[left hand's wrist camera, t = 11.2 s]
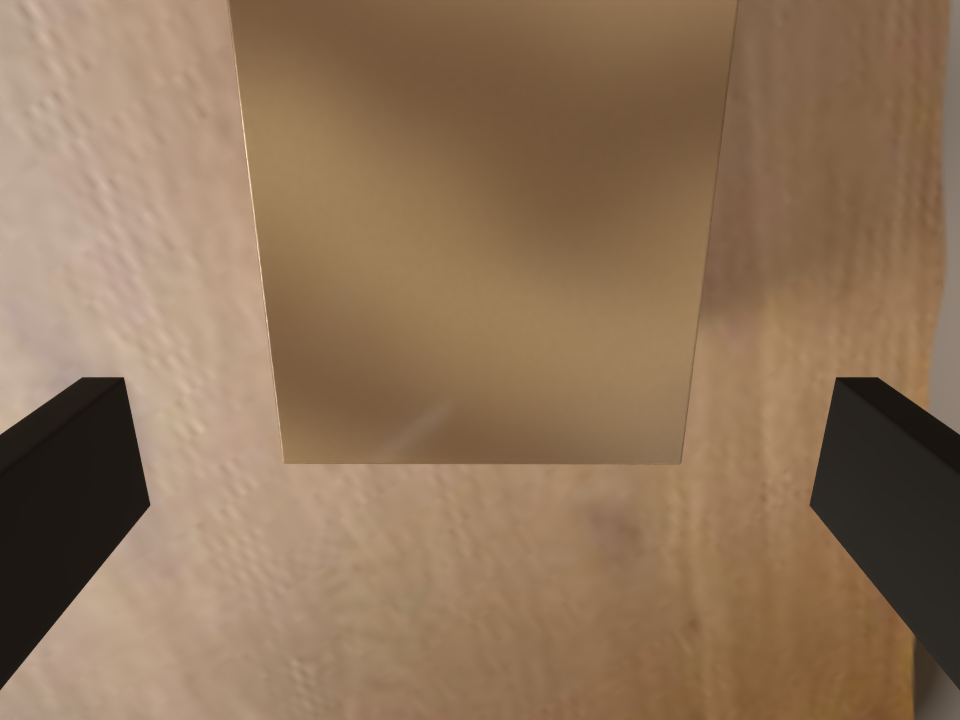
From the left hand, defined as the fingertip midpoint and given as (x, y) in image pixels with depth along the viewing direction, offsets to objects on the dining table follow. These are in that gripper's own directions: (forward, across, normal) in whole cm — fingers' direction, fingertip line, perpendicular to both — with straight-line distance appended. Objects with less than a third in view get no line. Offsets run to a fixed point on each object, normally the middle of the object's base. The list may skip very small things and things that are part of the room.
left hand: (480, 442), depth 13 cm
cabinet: (+16, 0, -7) cm, 17 cm away
